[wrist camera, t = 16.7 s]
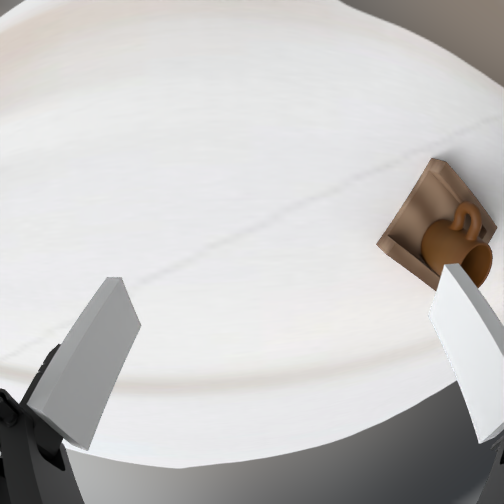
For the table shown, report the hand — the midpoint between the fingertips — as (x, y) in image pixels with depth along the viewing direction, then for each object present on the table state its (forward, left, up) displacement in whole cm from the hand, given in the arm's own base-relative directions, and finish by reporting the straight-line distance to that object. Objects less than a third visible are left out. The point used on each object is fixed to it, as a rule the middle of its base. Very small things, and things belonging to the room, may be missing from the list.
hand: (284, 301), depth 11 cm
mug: (-9, +26, -24) cm, 37 cm away
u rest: (-9, +27, -25) cm, 38 cm away
